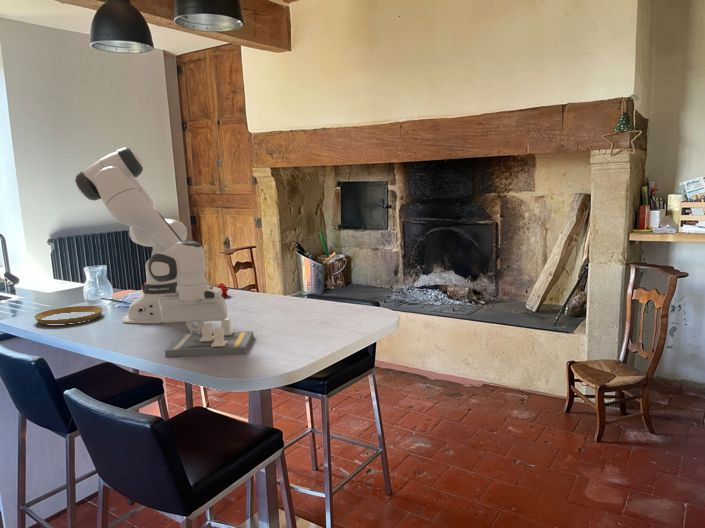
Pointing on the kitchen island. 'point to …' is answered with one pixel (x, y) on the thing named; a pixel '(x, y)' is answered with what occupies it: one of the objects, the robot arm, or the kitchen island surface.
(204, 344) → the switch board
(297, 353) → the kitchen island surface
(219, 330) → the switch near
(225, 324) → the switch far
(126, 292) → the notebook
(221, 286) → the figurine
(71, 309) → the plant saucer
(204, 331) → the switch mid
